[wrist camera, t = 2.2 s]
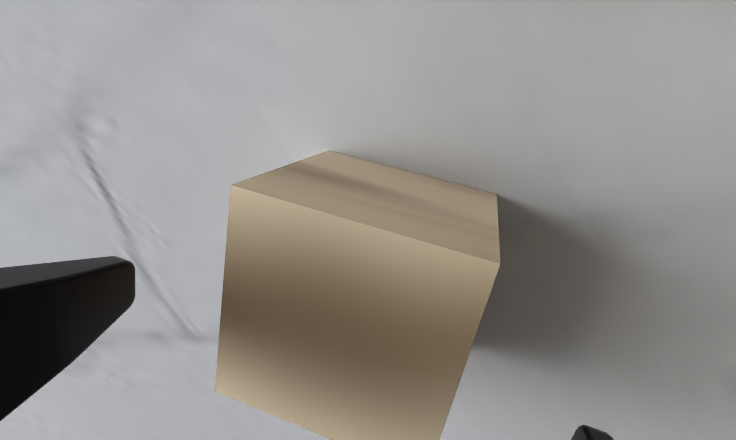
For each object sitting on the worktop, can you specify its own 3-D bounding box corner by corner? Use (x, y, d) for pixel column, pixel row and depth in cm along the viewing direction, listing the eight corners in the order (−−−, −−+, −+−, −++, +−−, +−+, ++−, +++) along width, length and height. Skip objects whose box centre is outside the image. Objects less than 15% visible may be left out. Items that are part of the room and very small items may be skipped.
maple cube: (449, 341, 13) (426, 478, 8) (306, 292, 14) (214, 390, 9) (496, 193, 11) (499, 263, 6) (329, 150, 12) (230, 184, 8)
